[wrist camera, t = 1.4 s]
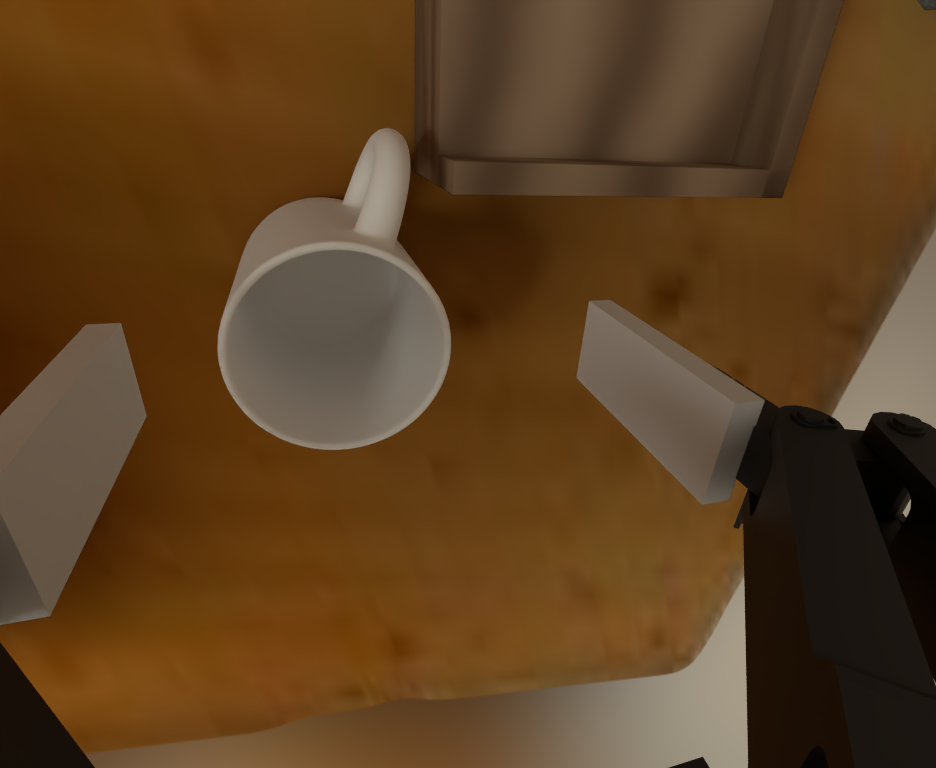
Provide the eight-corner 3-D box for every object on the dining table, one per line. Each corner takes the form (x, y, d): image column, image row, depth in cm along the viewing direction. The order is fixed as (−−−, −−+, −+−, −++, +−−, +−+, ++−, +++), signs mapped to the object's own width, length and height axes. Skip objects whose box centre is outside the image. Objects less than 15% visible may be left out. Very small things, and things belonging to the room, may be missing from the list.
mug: (292, 82, 23) (292, 72, 15) (454, 162, 27) (532, 193, 18) (223, 321, 27) (190, 425, 19) (373, 363, 31) (404, 468, 22)
